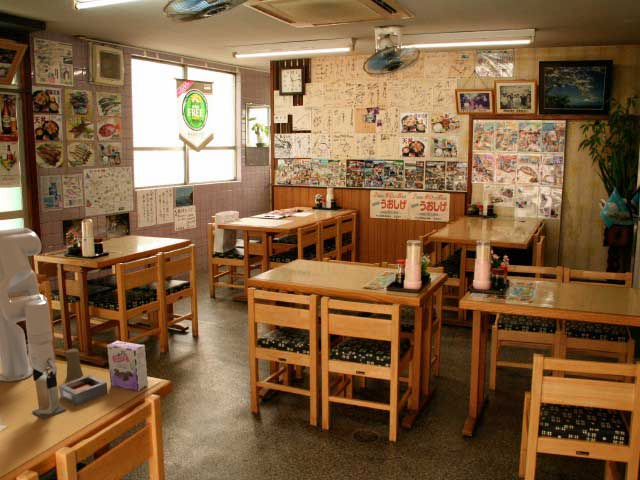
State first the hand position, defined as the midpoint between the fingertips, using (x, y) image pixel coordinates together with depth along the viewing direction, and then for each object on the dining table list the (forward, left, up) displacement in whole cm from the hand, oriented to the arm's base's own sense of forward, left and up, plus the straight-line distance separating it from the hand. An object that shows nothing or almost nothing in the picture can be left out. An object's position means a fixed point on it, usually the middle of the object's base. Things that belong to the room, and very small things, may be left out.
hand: (45, 383), depth 208 cm
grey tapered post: (-21, +21, -10) cm, 32 cm away
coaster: (+1, 0, -10) cm, 10 cm away
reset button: (-1, +14, -10) cm, 17 cm away
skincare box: (+1, 0, -10) cm, 10 cm away
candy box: (+5, +29, -11) cm, 31 cm away
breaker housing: (-1, +14, -10) cm, 17 cm away
